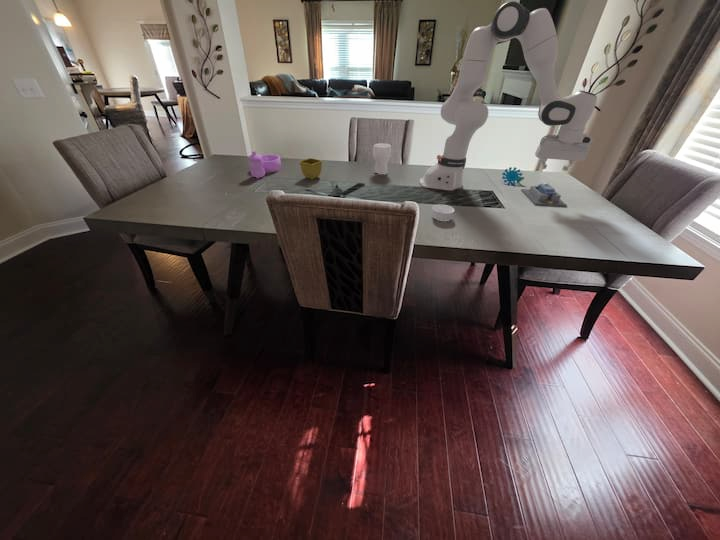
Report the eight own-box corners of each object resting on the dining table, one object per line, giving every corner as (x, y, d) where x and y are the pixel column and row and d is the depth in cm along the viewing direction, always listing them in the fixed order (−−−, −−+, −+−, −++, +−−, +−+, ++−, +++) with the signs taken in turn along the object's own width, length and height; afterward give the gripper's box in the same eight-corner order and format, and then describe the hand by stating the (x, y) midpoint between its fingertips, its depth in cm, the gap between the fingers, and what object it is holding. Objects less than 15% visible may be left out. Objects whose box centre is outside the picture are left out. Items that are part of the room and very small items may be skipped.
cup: (372, 169, 169) (373, 142, 160) (390, 170, 168) (392, 143, 159) (370, 175, 160) (371, 147, 151) (389, 176, 159) (391, 148, 150)
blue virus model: (499, 180, 151) (506, 164, 151) (496, 185, 156) (503, 169, 157) (521, 186, 148) (527, 170, 149) (517, 191, 154) (523, 175, 154)
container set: (261, 164, 174) (256, 141, 166) (285, 166, 172) (281, 143, 164) (242, 178, 154) (236, 153, 146) (269, 179, 152) (264, 154, 144)
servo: (543, 200, 132) (548, 188, 129) (534, 192, 140) (539, 180, 137) (552, 200, 132) (557, 188, 128) (543, 192, 140) (548, 181, 136)
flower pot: (323, 177, 157) (322, 160, 151) (313, 181, 151) (311, 164, 145) (311, 174, 160) (309, 157, 155) (301, 178, 154) (299, 161, 149)
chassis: (534, 205, 130) (537, 197, 127) (520, 190, 144) (523, 183, 142) (566, 206, 129) (570, 198, 126) (549, 192, 143) (552, 184, 141)
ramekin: (429, 213, 122) (430, 203, 119) (449, 213, 121) (451, 204, 119) (432, 222, 114) (434, 213, 112) (454, 223, 114) (456, 213, 112)
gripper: (546, 135, 118) (532, 169, 126) (597, 139, 116) (580, 173, 124) (540, 133, 123) (527, 165, 131) (589, 136, 121) (573, 169, 129)
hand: (553, 169), depth 128 cm, fingers open, 8 cm apart
